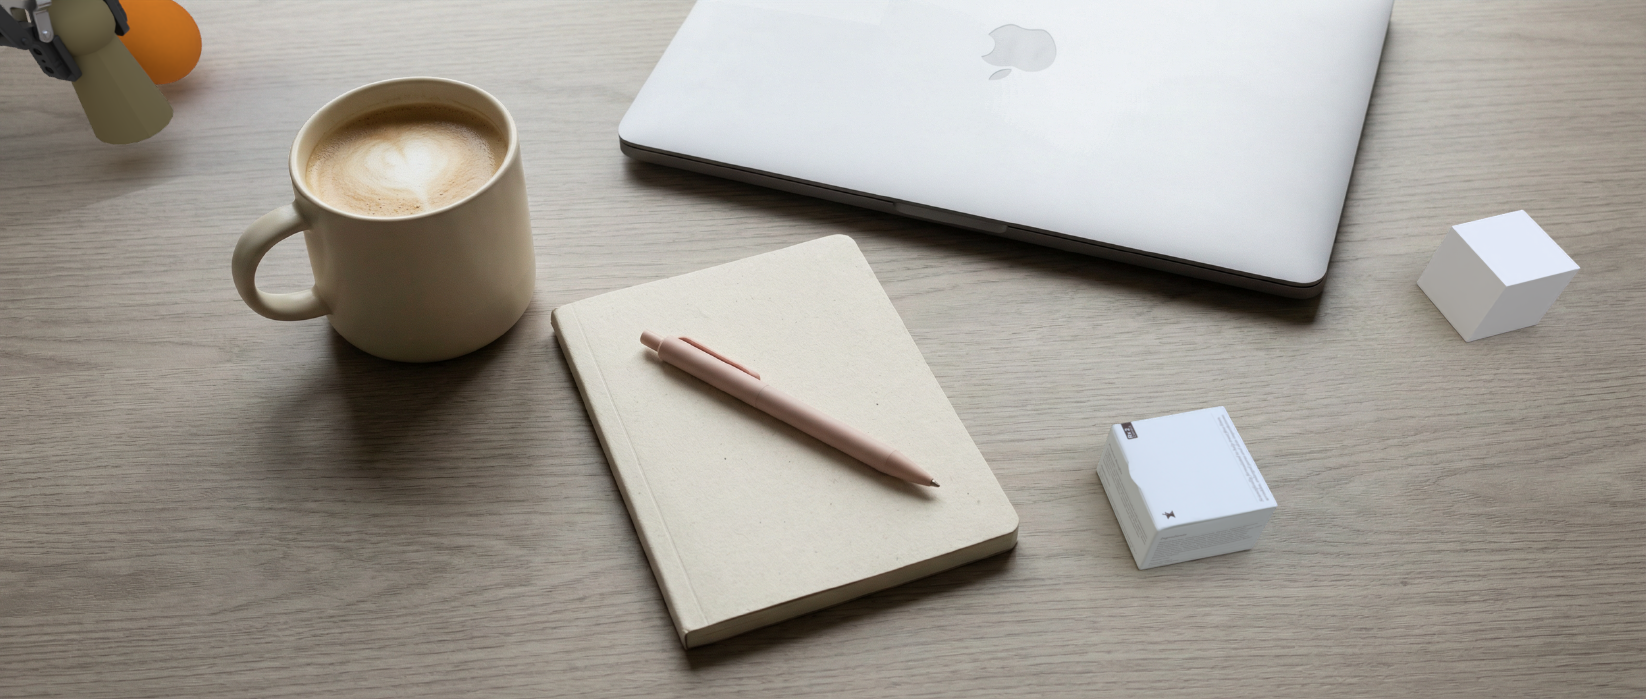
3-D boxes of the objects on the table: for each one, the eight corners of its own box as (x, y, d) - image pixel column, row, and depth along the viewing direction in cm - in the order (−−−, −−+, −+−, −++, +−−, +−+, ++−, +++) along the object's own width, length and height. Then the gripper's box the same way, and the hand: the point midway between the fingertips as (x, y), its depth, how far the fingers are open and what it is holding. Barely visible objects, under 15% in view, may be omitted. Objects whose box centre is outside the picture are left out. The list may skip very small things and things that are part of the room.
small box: (1255, 550, 69) (1282, 507, 65) (1136, 573, 68) (1156, 531, 64) (1204, 448, 74) (1226, 402, 70) (1092, 467, 73) (1107, 422, 69)
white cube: (1466, 342, 80) (1506, 286, 75) (1415, 283, 84) (1450, 226, 79) (1537, 324, 81) (1581, 267, 76) (1484, 266, 85) (1523, 208, 80)
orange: (106, 95, 97) (60, 20, 91) (159, 43, 102) (118, -31, 96) (184, 108, 96) (142, 33, 90) (233, 55, 101) (197, -19, 95)
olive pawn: (90, 109, 91) (14, -9, 83) (168, 88, 93) (102, -30, 84) (97, 153, 88) (18, 35, 79) (178, 130, 90) (110, 12, 81)
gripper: (-14, -220, 77) (109, -5, 90) (-176, -115, 68) (-14, 106, 82) (81, -208, 76) (191, 8, 89) (-71, -100, 67) (76, 121, 81)
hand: (92, 53), depth 85 cm, fingers closed on olive pawn, 5 cm apart
